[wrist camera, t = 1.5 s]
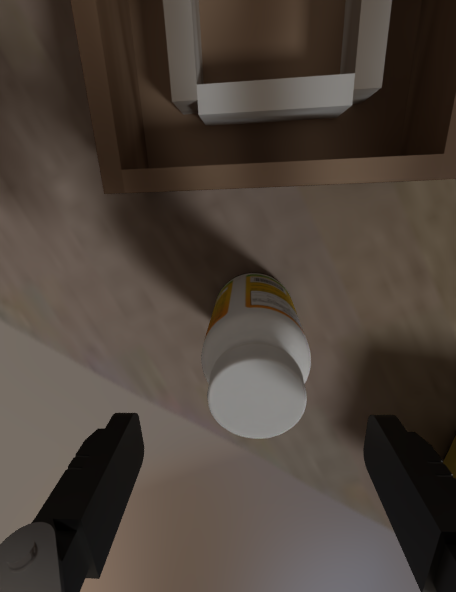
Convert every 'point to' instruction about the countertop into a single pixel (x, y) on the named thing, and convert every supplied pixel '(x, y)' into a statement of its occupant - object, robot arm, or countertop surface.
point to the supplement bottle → (255, 358)
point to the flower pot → (451, 458)
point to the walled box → (268, 91)
